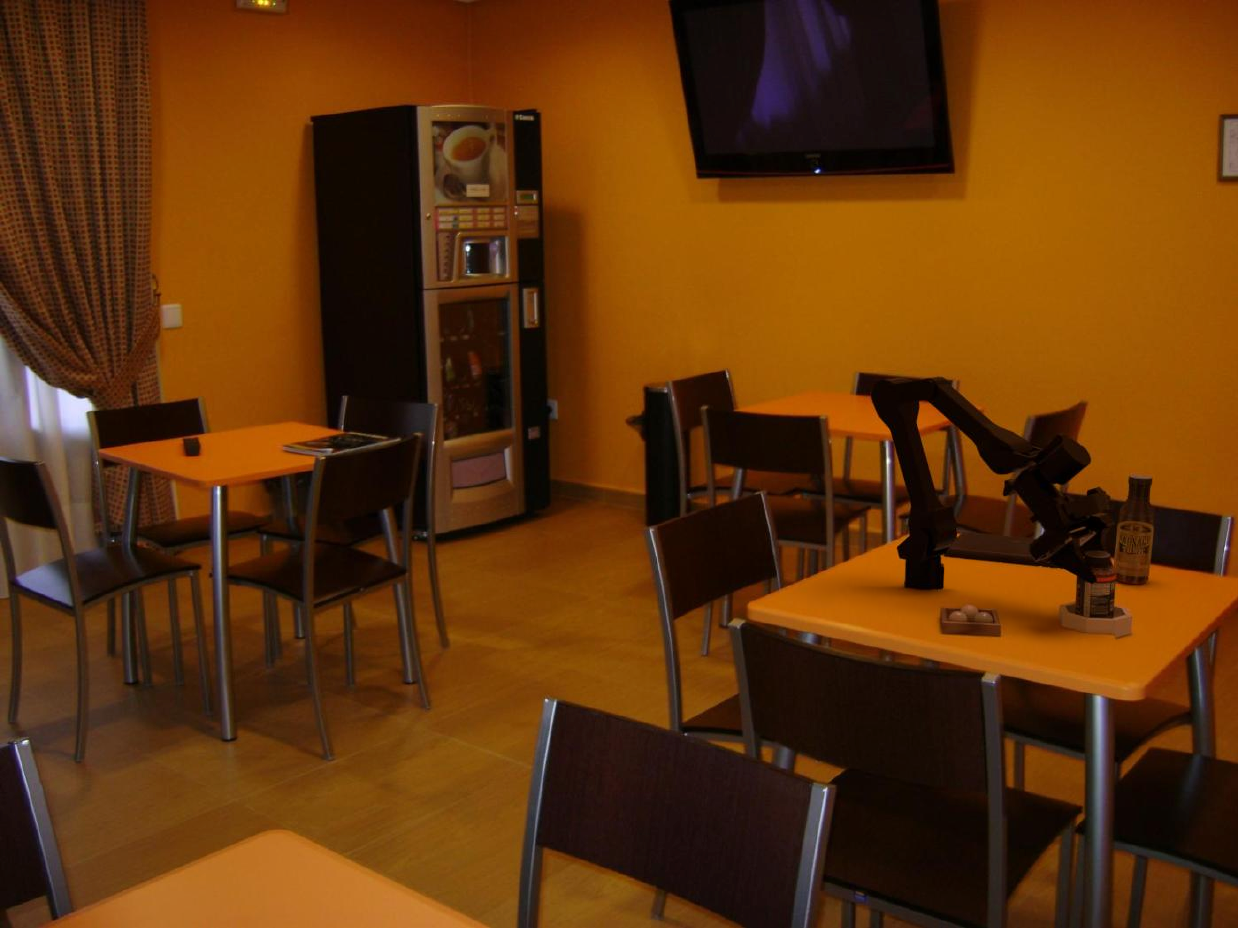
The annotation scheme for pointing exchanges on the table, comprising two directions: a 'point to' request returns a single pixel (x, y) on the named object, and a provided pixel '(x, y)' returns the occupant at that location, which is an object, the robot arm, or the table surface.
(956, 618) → the pebble
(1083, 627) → the dish
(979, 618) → the pebble
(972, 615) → the pebble
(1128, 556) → the sauce bottle
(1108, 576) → the supplement bottle
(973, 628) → the pebble tray
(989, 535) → the hardcover book
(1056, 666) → the table surface
